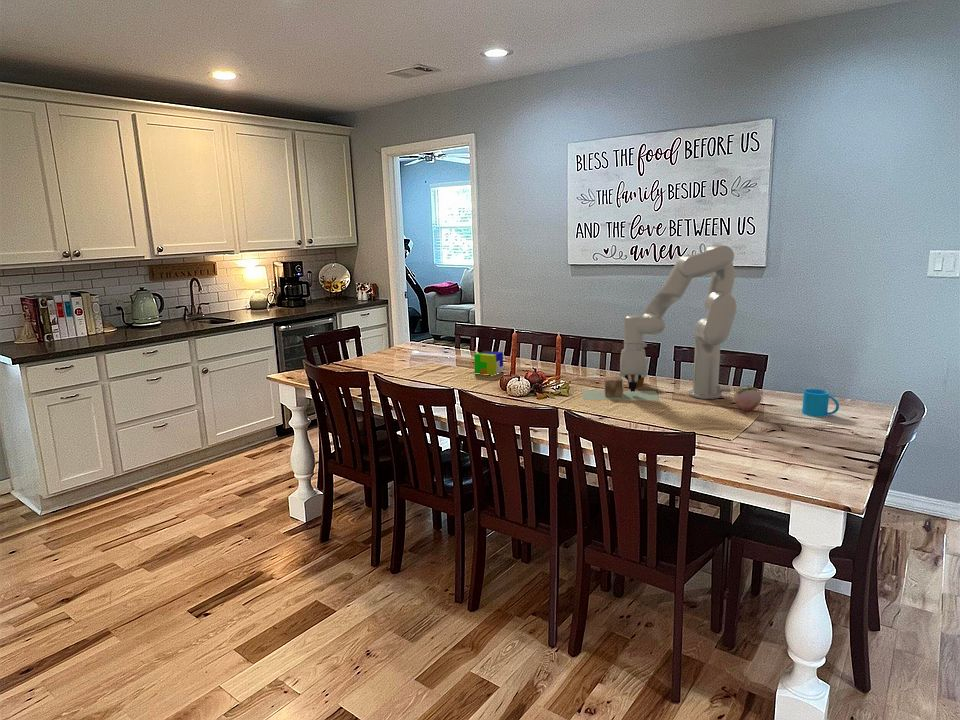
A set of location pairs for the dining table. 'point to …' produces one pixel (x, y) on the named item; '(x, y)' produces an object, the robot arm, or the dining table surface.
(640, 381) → the disposable coffee cup
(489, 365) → the puzzle toy
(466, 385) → the dining table surface
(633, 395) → the mat
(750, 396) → the decorative fruit
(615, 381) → the walnut block
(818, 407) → the mug
